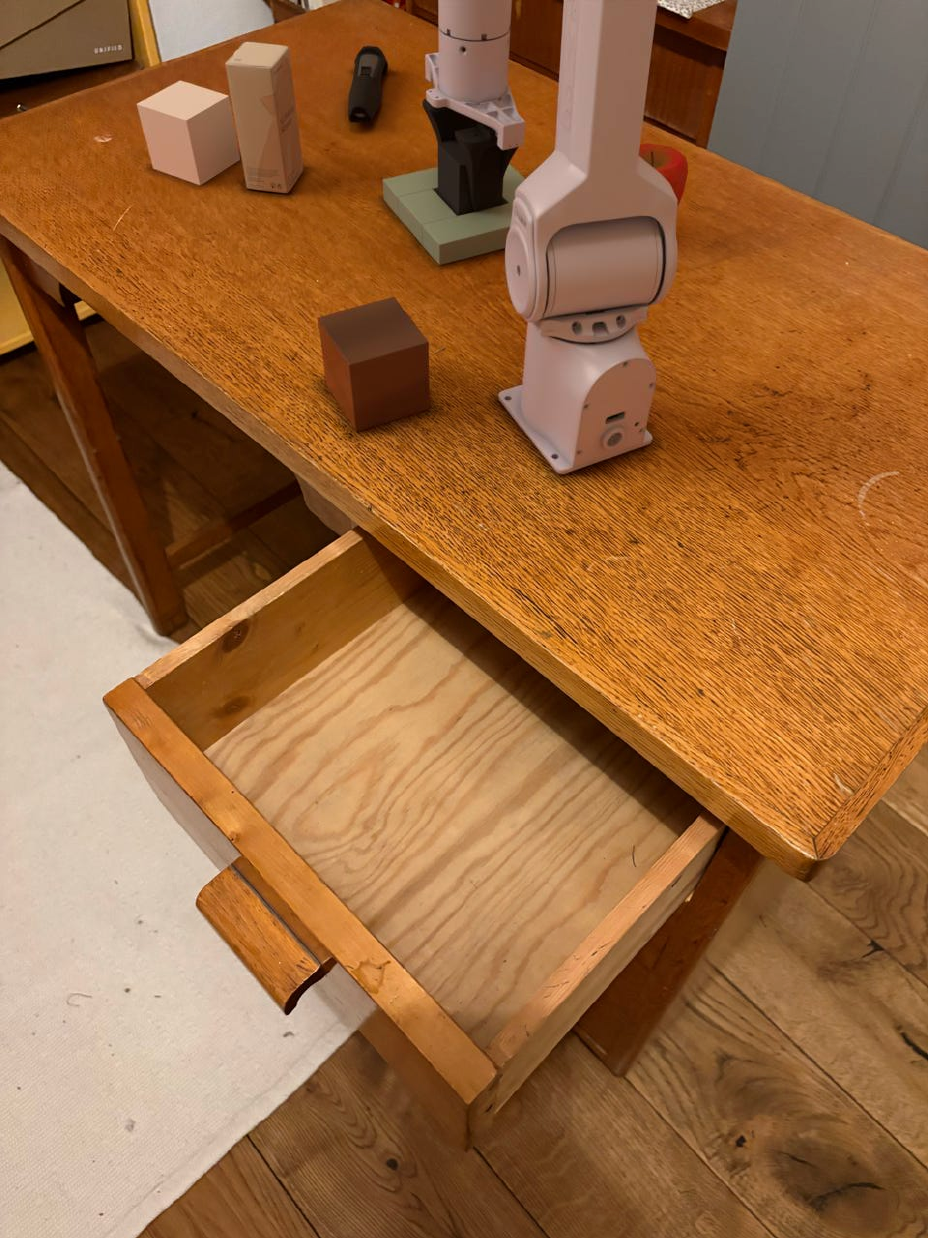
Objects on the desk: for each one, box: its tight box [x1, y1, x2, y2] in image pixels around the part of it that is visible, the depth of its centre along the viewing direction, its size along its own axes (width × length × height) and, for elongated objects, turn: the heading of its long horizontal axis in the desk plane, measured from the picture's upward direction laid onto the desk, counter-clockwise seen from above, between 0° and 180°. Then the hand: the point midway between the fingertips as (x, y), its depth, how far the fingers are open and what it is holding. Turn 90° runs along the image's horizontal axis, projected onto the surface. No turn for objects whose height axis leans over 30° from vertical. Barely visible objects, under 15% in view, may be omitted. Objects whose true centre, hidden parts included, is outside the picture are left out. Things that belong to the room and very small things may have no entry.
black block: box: [437, 139, 503, 216], centre depth 81 cm, size 4×4×5 cm
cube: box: [317, 296, 431, 433], centre depth 66 cm, size 6×6×6 cm
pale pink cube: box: [136, 79, 241, 186], centre depth 87 cm, size 6×6×6 cm
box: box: [225, 41, 304, 194], centre depth 83 cm, size 5×4×11 cm
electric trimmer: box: [347, 45, 389, 124], centre depth 97 cm, size 4×16×3 cm, turn 178°
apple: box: [638, 143, 689, 208], centre depth 80 cm, size 6×6×8 cm
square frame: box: [382, 163, 526, 266], centre depth 83 cm, size 12×12×2 cm
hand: (470, 194), depth 83 cm, fingers closed on black block, 4 cm apart
